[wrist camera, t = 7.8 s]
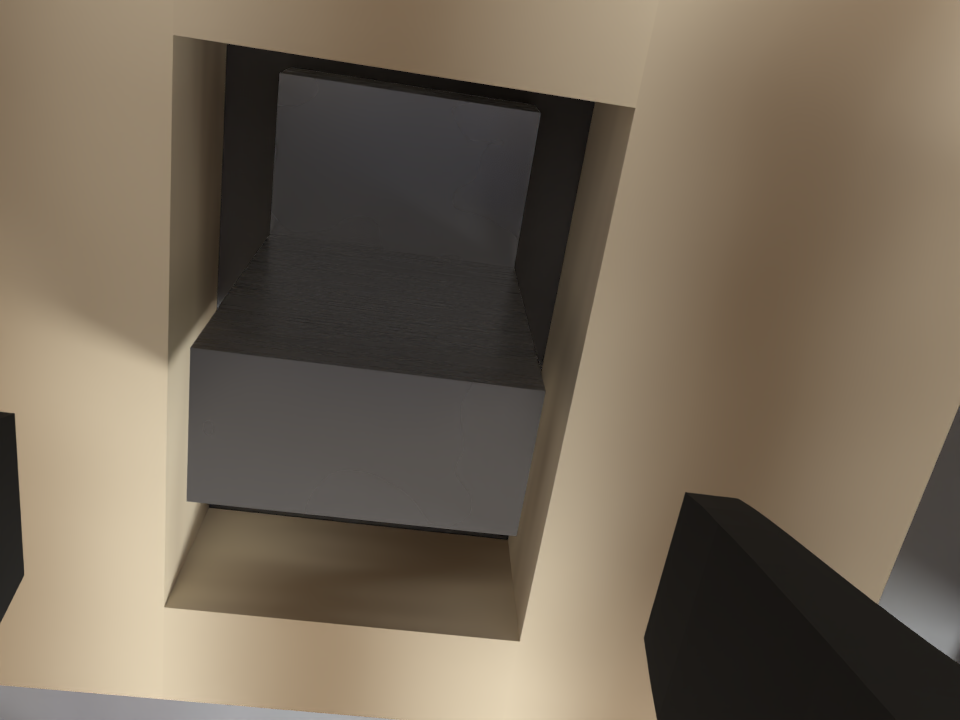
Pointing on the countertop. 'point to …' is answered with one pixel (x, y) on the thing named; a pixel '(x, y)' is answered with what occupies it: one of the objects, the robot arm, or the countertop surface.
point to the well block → (567, 362)
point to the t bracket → (377, 317)
